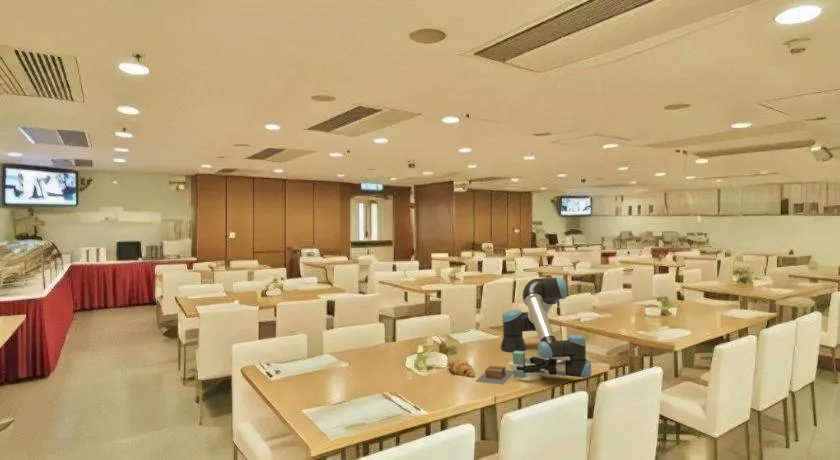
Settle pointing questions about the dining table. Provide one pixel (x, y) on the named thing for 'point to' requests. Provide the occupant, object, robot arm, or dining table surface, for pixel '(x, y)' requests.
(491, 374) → the plinth
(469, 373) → the croissant
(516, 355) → the pillar
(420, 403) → the dining table surface
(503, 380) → the placemat
